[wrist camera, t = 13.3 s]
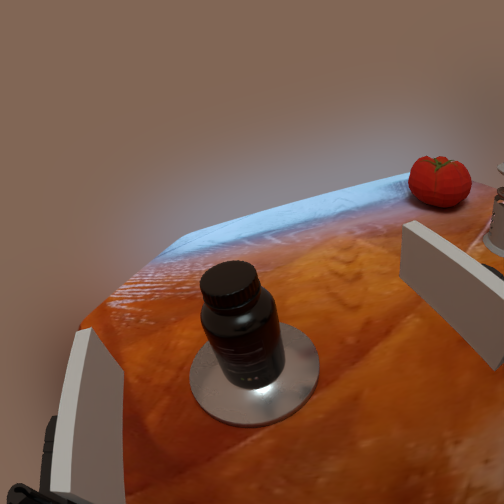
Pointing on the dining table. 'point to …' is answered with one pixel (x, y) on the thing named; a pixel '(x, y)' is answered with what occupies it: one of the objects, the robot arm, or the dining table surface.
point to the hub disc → (261, 399)
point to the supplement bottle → (242, 325)
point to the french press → (497, 223)
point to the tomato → (439, 181)
